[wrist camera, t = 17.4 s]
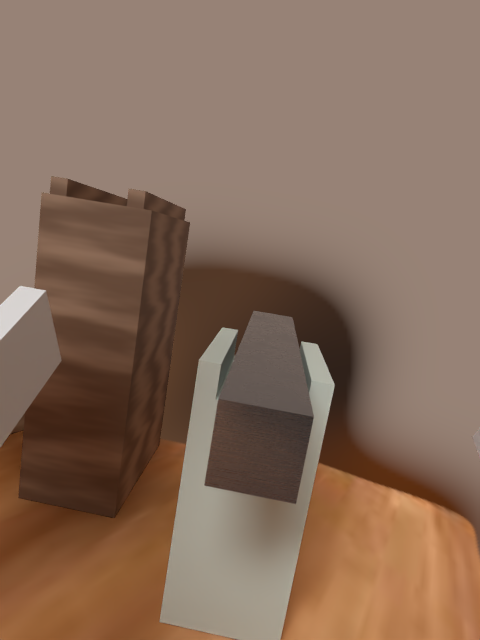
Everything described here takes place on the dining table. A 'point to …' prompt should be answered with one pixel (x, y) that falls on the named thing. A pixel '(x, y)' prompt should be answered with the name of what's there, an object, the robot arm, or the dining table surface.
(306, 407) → the bar
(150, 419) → the walnut stand
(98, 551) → the dining table surface
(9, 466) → the dining table surface
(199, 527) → the slotted cradle
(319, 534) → the dining table surface
